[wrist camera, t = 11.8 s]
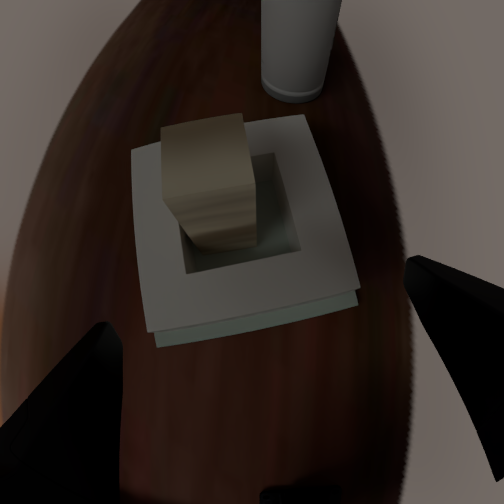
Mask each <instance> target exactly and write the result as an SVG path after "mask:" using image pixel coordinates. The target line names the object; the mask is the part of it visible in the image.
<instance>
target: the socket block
mask: <svg viewBox="0 0 504 504" xmlns="http://www.w3.org/2000/svg"><path fill="white" fill-rule="evenodd" d="M244 127H245V132H246V137H247V142H248V147H249V152H250V157H251V163H252V168H253V173H254V178H255V185H256V230H257V247H253V248H247V249H241V250H235V251H229V252H222V253H216V254H210V255H204V256H203V255H202V254H201V252H200V251H199V250H198V248H197V247H196V246H195V244H194V243H193V241H192V240H191V239H190V237H189V236H188V235H187V233H186V232H185V231H184V229H183V228H182V226H181V225H180V224H179V222H178V221H177V219H176V218H175V217H174V215H173V214H172V212H171V211H170V210H169V208H168V207H167V205H166V204H165V203H164V201H163V200H162V177H161V142H157V143H154V144H150V145H146V146H143V147H140V148H136V149H133V150H131V166H132V197H133V215H134V229H135V241H136V251H137V261H138V270H139V278H140V286H141V294H142V301H143V307H144V314H145V320H146V326H147V332H154V335H155V340H156V345H157V347H163V346H170V345H177V344H183V343H189V342H195V341H201V340H207V339H212V338H218V337H223V336H229V335H234V334H239V333H244V332H249V331H254V330H259V329H263V328H268V327H272V326H277V325H281V324H286V323H290V322H294V321H299V320H303V319H307V318H311V317H315V316H319V315H323V314H327V313H331V312H335V311H338V310H342V309H346V308H350V307H353V306H357V305H358V301H357V297H356V293H355V290H356V289H359V288H361V287H360V283H359V279H358V276H357V272H356V268H355V264H354V261H353V257H352V253H351V250H350V246H349V243H348V240H347V236H346V233H345V229H344V226H343V223H342V220H341V216H340V213H339V210H338V207H337V204H336V201H335V198H334V195H333V192H332V189H331V186H330V183H329V180H328V177H327V174H326V171H325V169H324V166H323V163H322V160H321V158H320V155H319V152H318V150H317V147H316V144H315V142H314V139H313V136H312V134H311V131H310V129H309V126H308V124H307V121H306V119H305V116H304V114H303V115H295V116H287V117H280V118H273V119H266V120H259V121H253V122H247V123H244Z"/></svg>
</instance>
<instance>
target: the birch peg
mask: <svg viewBox="0 0 504 504" xmlns="http://www.w3.org/2000/svg"><path fill="white" fill-rule="evenodd" d="M161 177H162V200H163V201H164V203H165V204H166V205H167V207H168V208H169V210H170V211H171V212H172V214H173V215H174V217H175V218H176V219H177V221H178V222H179V224H180V225H181V226H182V228H183V229H184V231H185V232H186V233H187V235H188V236H189V237H190V239H191V240H192V241H193V243H194V244H195V246H196V247H197V248H198V250H199V251H200V252H201V254H202V255H203V256H204V255H210V254H216V253H222V252H229V251H235V250H241V249H247V248H253V247H257V230H256V185H255V178H254V173H253V168H252V163H251V157H250V152H249V147H248V142H247V137H246V132H245V127H244V122H243V117H242V113H237V114H231V115H224V116H218V117H212V118H206V119H201V120H196V121H191V122H186V123H181V124H176V125H171V126H167V127H163V128H161Z"/></svg>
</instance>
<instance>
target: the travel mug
mask: <svg viewBox="0 0 504 504" xmlns="http://www.w3.org/2000/svg"><path fill="white" fill-rule="evenodd" d="M341 2H342V0H261V70H262V73H261V82H262V86H263V88H264V90H265V91H266V92H267V93H268V94H269V95H271V96H272V97H274V98H276V99H278V100H280V101H283V102H288V103H304V102H308V101H311V100H313V99H315V98H317V97H318V96H319V95H320V93H321V92H322V88H323V84H324V79H325V75H326V71H327V66H328V62H329V58H330V53H331V49H332V44H333V40H334V35H335V30H336V26H337V21H338V16H339V12H340V7H341Z"/></svg>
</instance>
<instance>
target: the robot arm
mask: <svg viewBox="0 0 504 504" xmlns="http://www.w3.org/2000/svg"><path fill="white" fill-rule="evenodd" d="M403 283H404V287H405V289H406V291H407V293H408V295H409V297H410V299H411V301H412V303H413V306H414V308H415V310H416V312H417V314H418V316H419V319H420V321H421V323H422V325H423V326H424V328H425V330H426V332H427V334H428V335H429V337H430V339H431V341H432V342H433V344H434V346H435V348H436V349H437V351H438V353H439V355H440V357H441V359H442V361H443V362H444V364H445V366H446V368H447V370H448V372H449V374H450V376H451V378H452V380H453V382H454V384H455V386H456V388H457V390H458V392H459V394H460V396H461V398H462V400H463V402H464V404H465V406H466V408H467V411H468V413H469V415H470V417H471V420H472V422H473V424H474V426H475V429H476V430H477V434H478V436H479V439H480V441H481V443H482V446H483V449H484V451H485V454H486V456H487V459H488V462H489V464H490V467H491V470H492V473H493V475H494V478H495V480H496V482H498V481H499V480H501V479H503V478H504V289H503V288H501V287H499V286H496V285H494V284H492V283H489V282H487V281H484V280H482V279H479V278H477V277H475V276H472V275H470V274H467V273H465V272H462V271H459V270H457V269H455V268H452V267H449V266H447V265H444V264H441V263H439V262H436V261H433V260H431V259H428V258H426V257H423V256H420V255H416V256H413V257H409V258H408V259H407V261H406V265H405V272H404V279H403ZM122 395H123V345H122V342H121V339H120V338H119V336H118V334H117V333H116V331H115V329H114V328H113V326H112V324H111V323H110V322H108V321H106V322H99V323H96V324H95V325H94V326H93V327H92V328H91V329H90V330H89V331H88V332H87V333H86V334H85V335H84V336H83V337H82V339H81V340H80V341H79V342H78V343H77V344H76V345H75V346H74V347H73V348H72V349H71V350H70V351H69V352H68V353H67V354H66V355H65V356H64V357H63V359H62V360H61V361H60V362H59V363H58V364H57V365H56V366H55V367H54V368H53V369H52V370H51V372H50V373H49V374H48V375H47V376H46V377H45V378H44V379H43V380H42V381H41V383H40V384H39V385H38V386H37V387H36V388H35V389H34V390H33V392H32V393H31V394H30V395H29V396H28V399H26V400H25V401H24V402H23V403H22V404H21V405H20V407H19V408H18V409H17V410H16V411H15V412H14V413H13V414H12V416H11V417H10V418H9V419H8V420H7V421H6V422H5V423H4V424H3V425H2V426H1V427H0V504H120V494H119V449H120V425H121V409H122ZM334 490H337V491H336V492H333V491H334ZM341 494H342V489H341V487H340V486H338V485H334V486H326V487H307V488H294V489H287V490H266V491H262V492H261V493H260V503H259V504H340V501H341ZM264 495H268V497H264Z"/></svg>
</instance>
